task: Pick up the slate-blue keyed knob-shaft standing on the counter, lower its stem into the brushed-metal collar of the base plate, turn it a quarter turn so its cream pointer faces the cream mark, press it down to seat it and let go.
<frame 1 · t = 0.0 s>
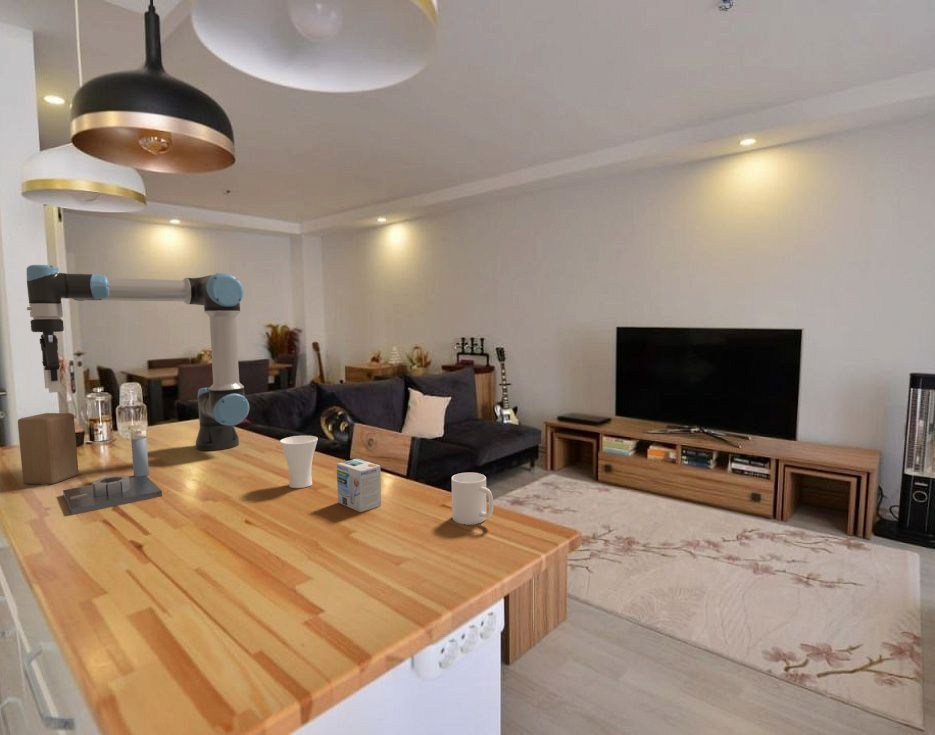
hand: (52, 390, 156), 28 cm above the kitchen island, fingers open, 13 cm apart
base plate: (112, 495, 145), on the kitchen island
cup: (474, 521, 125), on the kitchen island
wooden block: (51, 480, 160), on the kitchen island
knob: (141, 475, 163), on the kitchen island
light bulb box: (359, 505, 136), on the kitchen island
cup 2: (300, 485, 153), on the kitchen island
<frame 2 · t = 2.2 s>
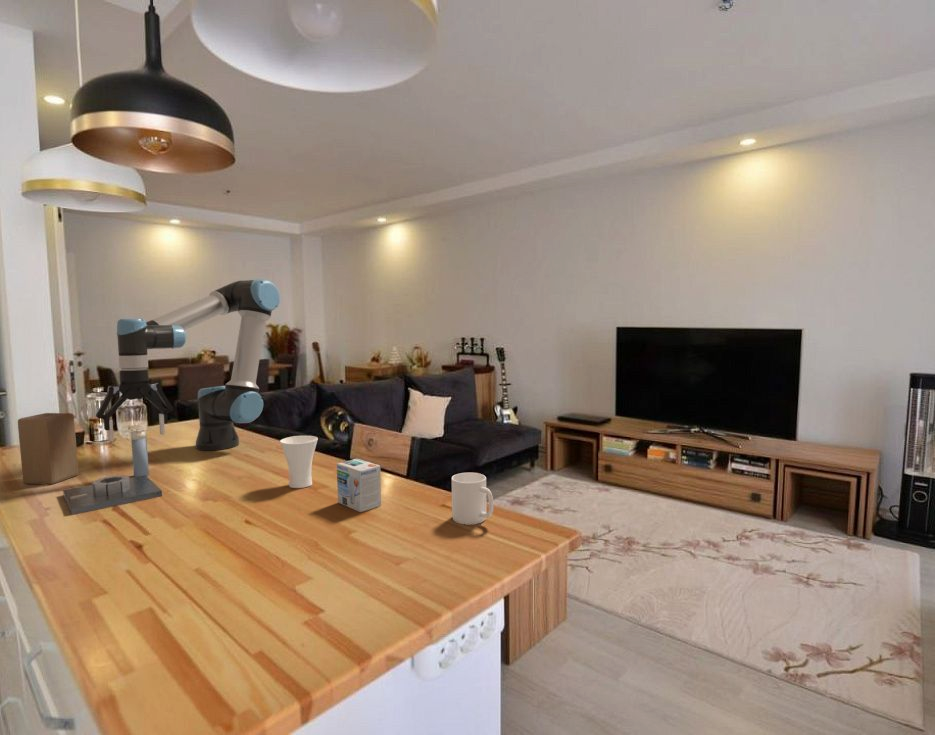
hand: (137, 437, 162), 12 cm above the kitchen island, fingers open, 13 cm apart
nothing on the kitchen island moved.
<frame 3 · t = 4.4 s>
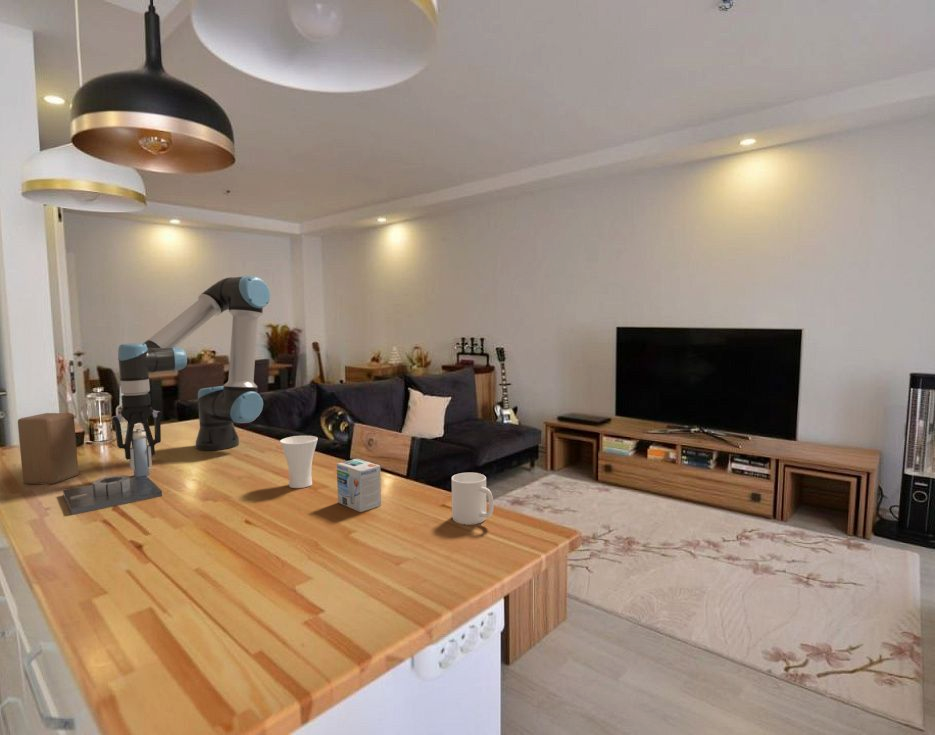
hand: (141, 467, 163), 3 cm above the kitchen island, fingers closed on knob, 4 cm apart
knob: (141, 475, 163), on the kitchen island, touching gripper
everything else where it was.
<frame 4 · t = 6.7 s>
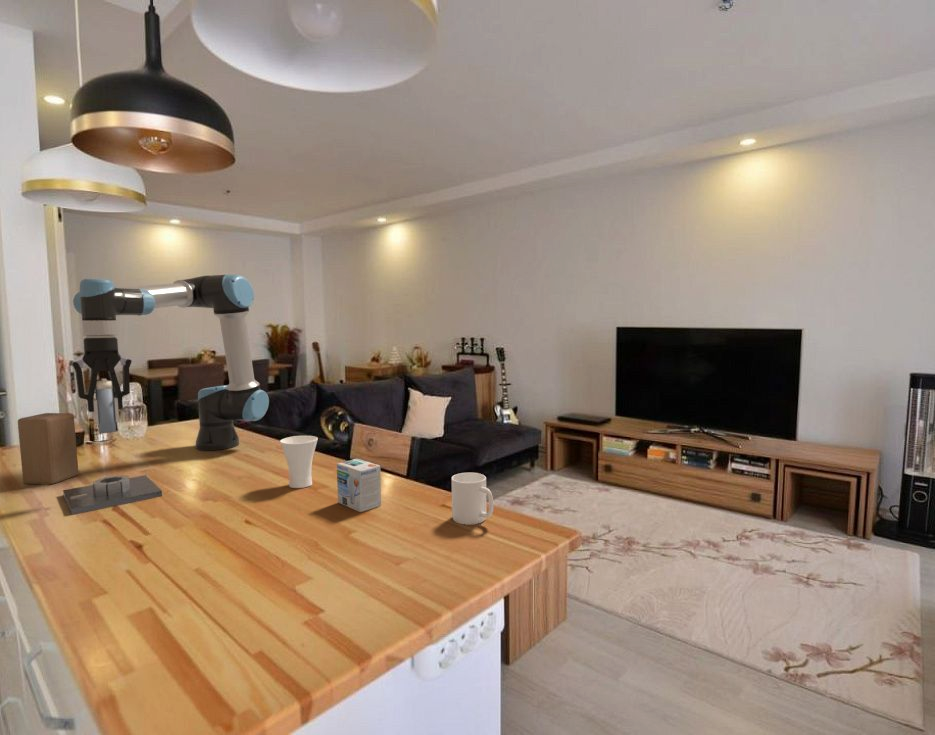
hand: (106, 422, 143), 21 cm above the kitchen island, fingers closed on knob, 4 cm apart
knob: (107, 431, 143), point 18 cm above the kitchen island, touching gripper
everything else where it was.
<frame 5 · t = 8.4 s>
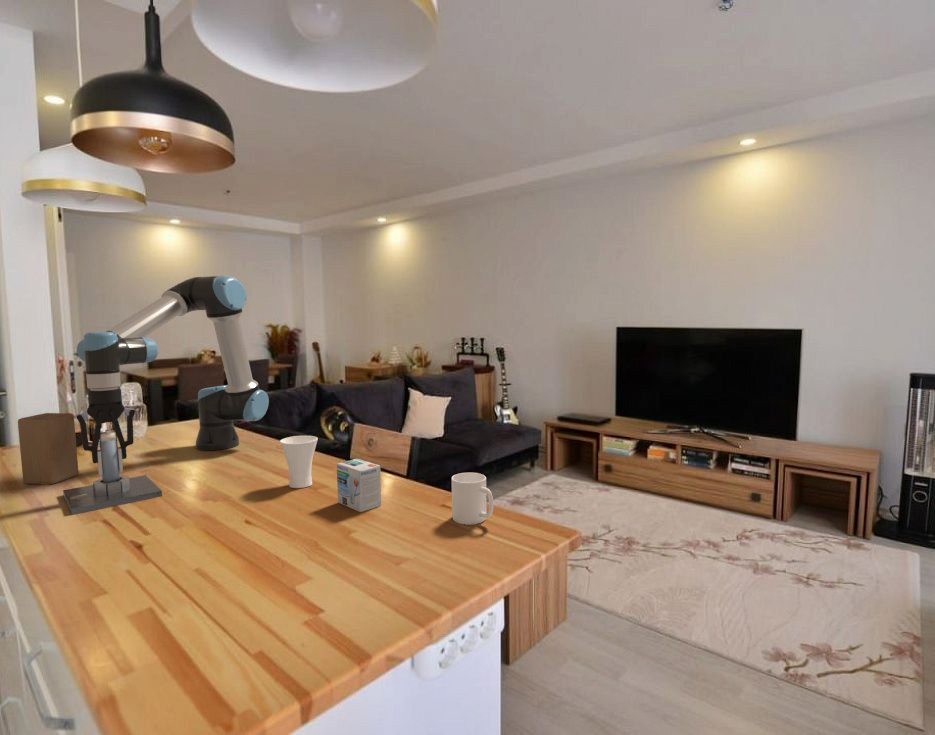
hand: (110, 472, 144), 7 cm above the kitchen island, fingers closed on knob, 4 cm apart
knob: (111, 482, 145), point 4 cm above the kitchen island, touching gripper
everything else where it was.
when the fingers open (6 cm above the kitchen island, at t = 9.6 s): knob drops 1 cm, resting on base plate.
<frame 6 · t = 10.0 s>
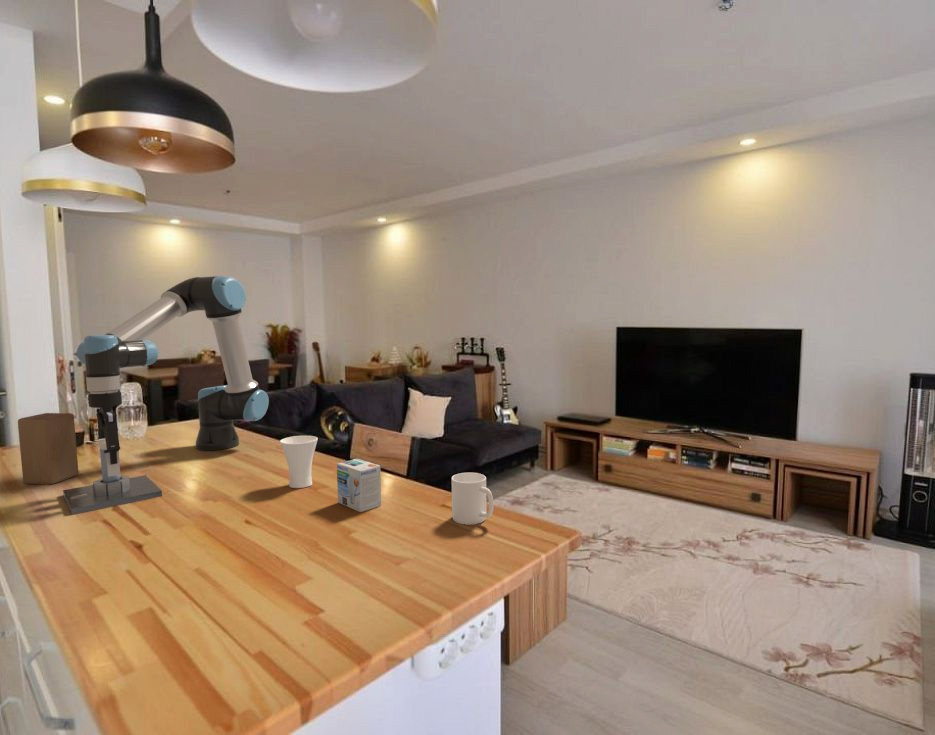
hand: (110, 471, 144), 7 cm above the kitchen island, fingers open, 10 cm apart
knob: (112, 490, 145), point 2 cm above the kitchen island, touching base plate
everything else where it was.
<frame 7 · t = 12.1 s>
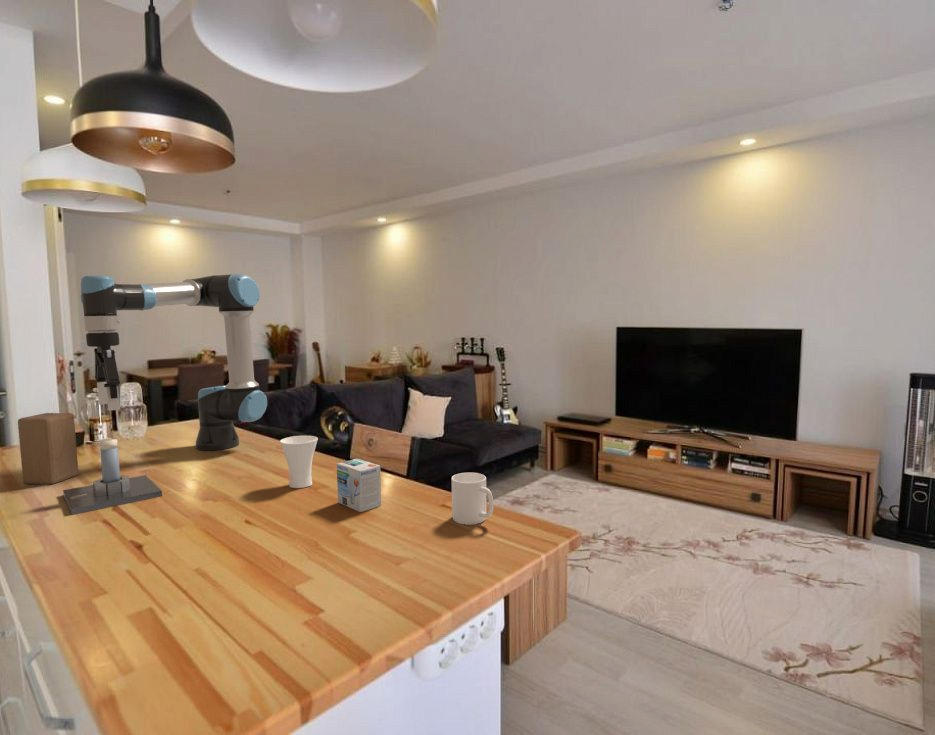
hand: (109, 407, 148), 24 cm above the kitchen island, fingers open, 13 cm apart
nothing on the kitchen island moved.
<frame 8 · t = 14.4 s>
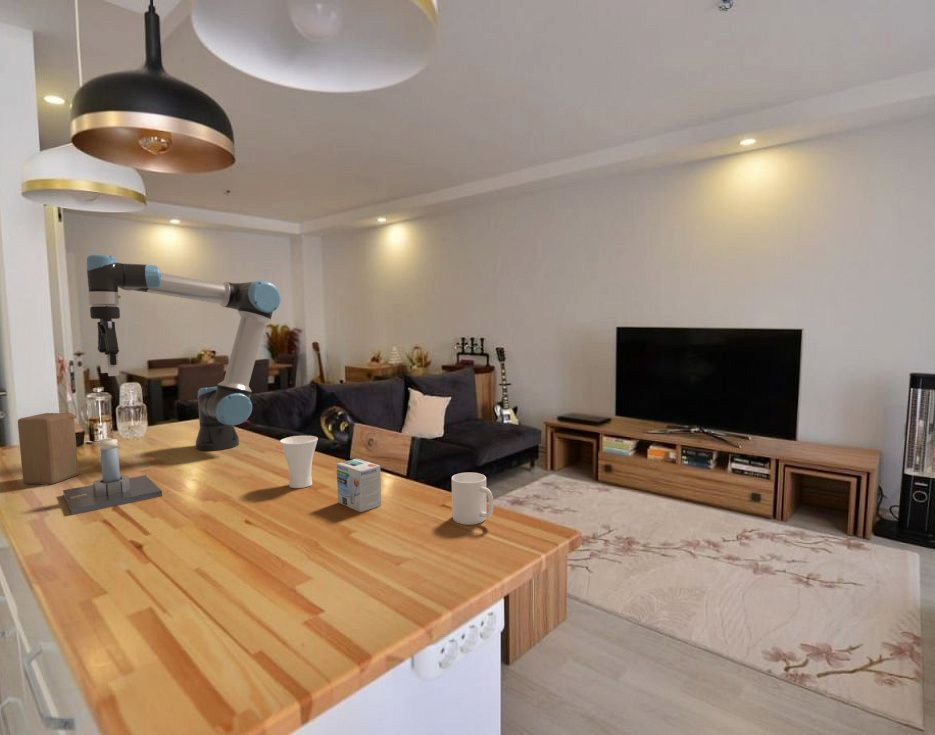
hand: (109, 374, 164), 32 cm above the kitchen island, fingers open, 13 cm apart
nothing on the kitchen island moved.
at the end: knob 0.0 cm off-centre on the base plate, point 1.5 cm above the base plate's base; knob tilted 0°; the gripper is holding nothing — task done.
